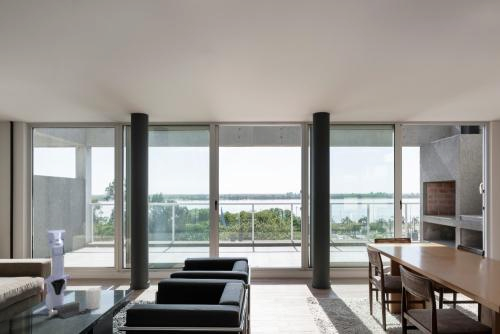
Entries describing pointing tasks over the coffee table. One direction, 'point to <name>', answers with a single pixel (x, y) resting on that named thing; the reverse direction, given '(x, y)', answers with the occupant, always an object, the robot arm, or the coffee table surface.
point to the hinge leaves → (68, 310)
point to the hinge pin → (52, 313)
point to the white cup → (93, 298)
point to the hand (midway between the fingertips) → (57, 294)
